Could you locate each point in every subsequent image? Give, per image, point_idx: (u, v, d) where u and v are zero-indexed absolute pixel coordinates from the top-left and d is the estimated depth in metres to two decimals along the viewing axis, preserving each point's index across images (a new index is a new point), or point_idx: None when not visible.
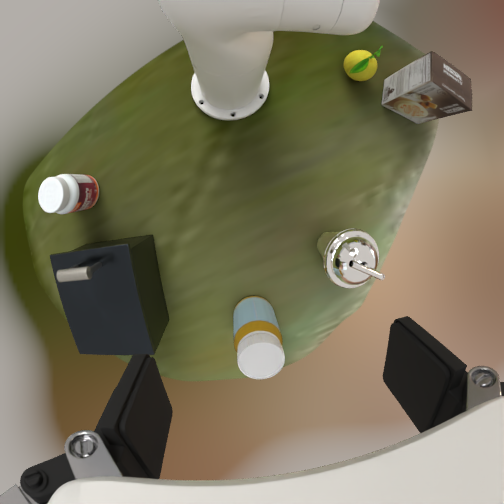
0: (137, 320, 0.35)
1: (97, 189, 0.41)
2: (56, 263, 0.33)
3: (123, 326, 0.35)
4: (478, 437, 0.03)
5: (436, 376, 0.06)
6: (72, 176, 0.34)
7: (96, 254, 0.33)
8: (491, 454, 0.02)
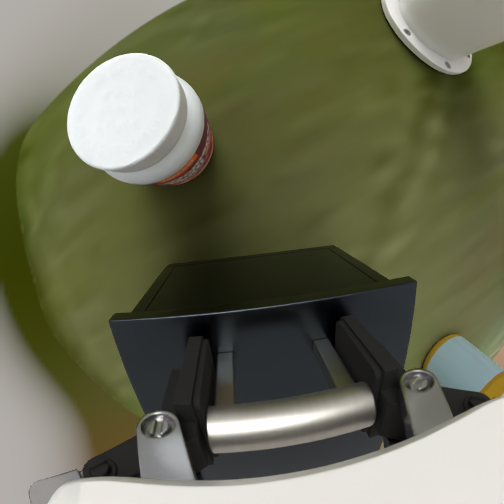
0: (370, 438, 0.13)
1: (212, 139, 0.19)
2: (137, 346, 0.11)
3: (333, 455, 0.13)
4: (478, 437, 0.03)
5: (368, 375, 0.07)
6: None
7: (315, 318, 0.11)
8: (491, 454, 0.02)
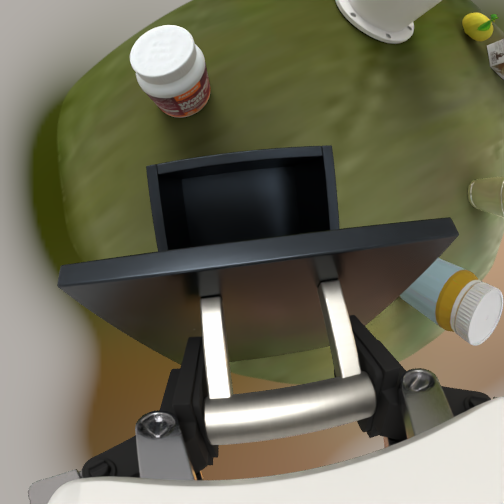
0: None
1: None
2: (100, 300, 0.08)
3: (314, 338, 0.17)
4: (478, 437, 0.03)
5: (369, 375, 0.07)
6: None
7: (331, 266, 0.08)
8: (491, 454, 0.02)
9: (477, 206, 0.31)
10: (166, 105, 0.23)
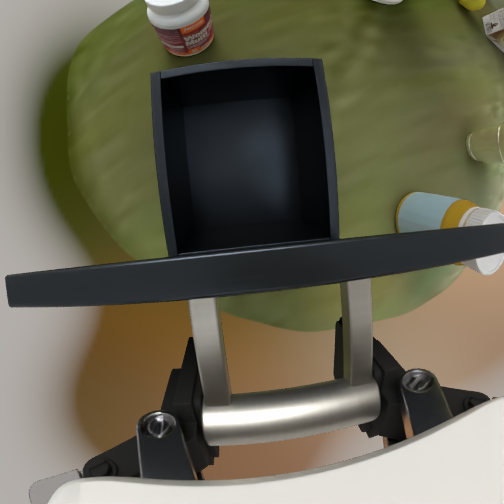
0: None
1: None
2: None
3: None
4: (478, 437, 0.03)
5: None
6: None
7: None
8: (491, 454, 0.02)
9: (476, 156, 0.29)
10: (172, 39, 0.21)
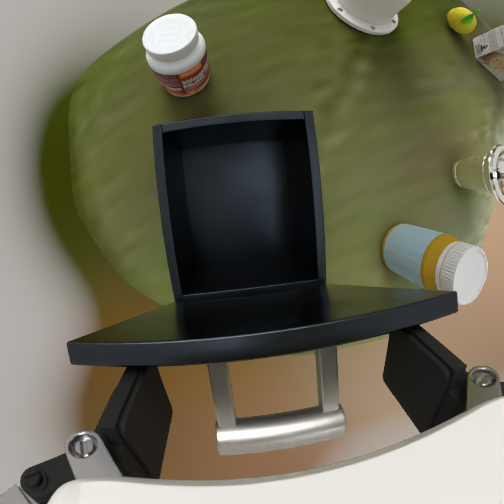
0: None
1: (209, 70, 0.28)
2: None
3: None
4: (478, 437, 0.03)
5: (436, 376, 0.06)
6: None
7: None
8: (491, 454, 0.02)
9: (462, 184, 0.33)
10: (171, 83, 0.25)
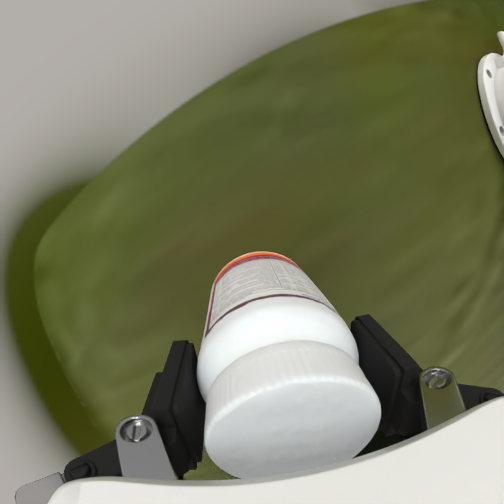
0: None
1: None
2: None
3: None
4: (478, 437, 0.03)
5: (388, 374, 0.07)
6: (329, 308, 0.10)
7: None
8: (491, 454, 0.02)
9: None
10: None
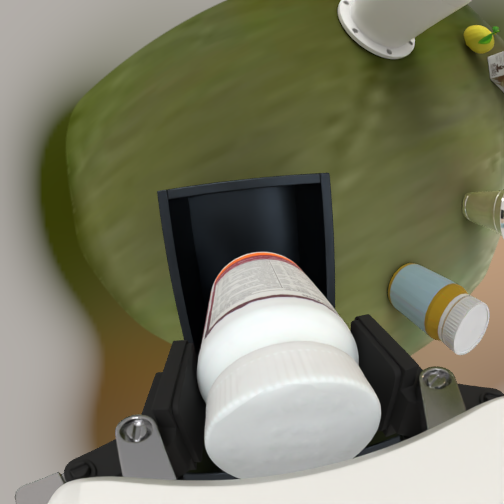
0: None
1: None
2: None
3: None
4: (478, 437, 0.03)
5: (388, 374, 0.07)
6: (329, 308, 0.10)
7: None
8: (491, 454, 0.02)
9: (471, 219, 0.33)
10: None
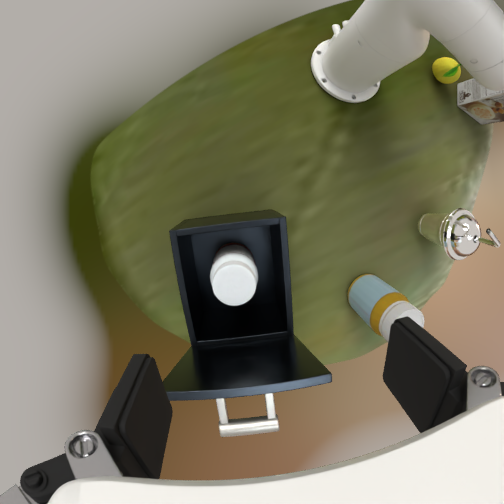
0: None
1: None
2: None
3: None
4: (478, 437, 0.03)
5: (436, 376, 0.06)
6: (247, 256, 0.36)
7: None
8: (491, 454, 0.02)
9: (425, 236, 0.44)
10: None
